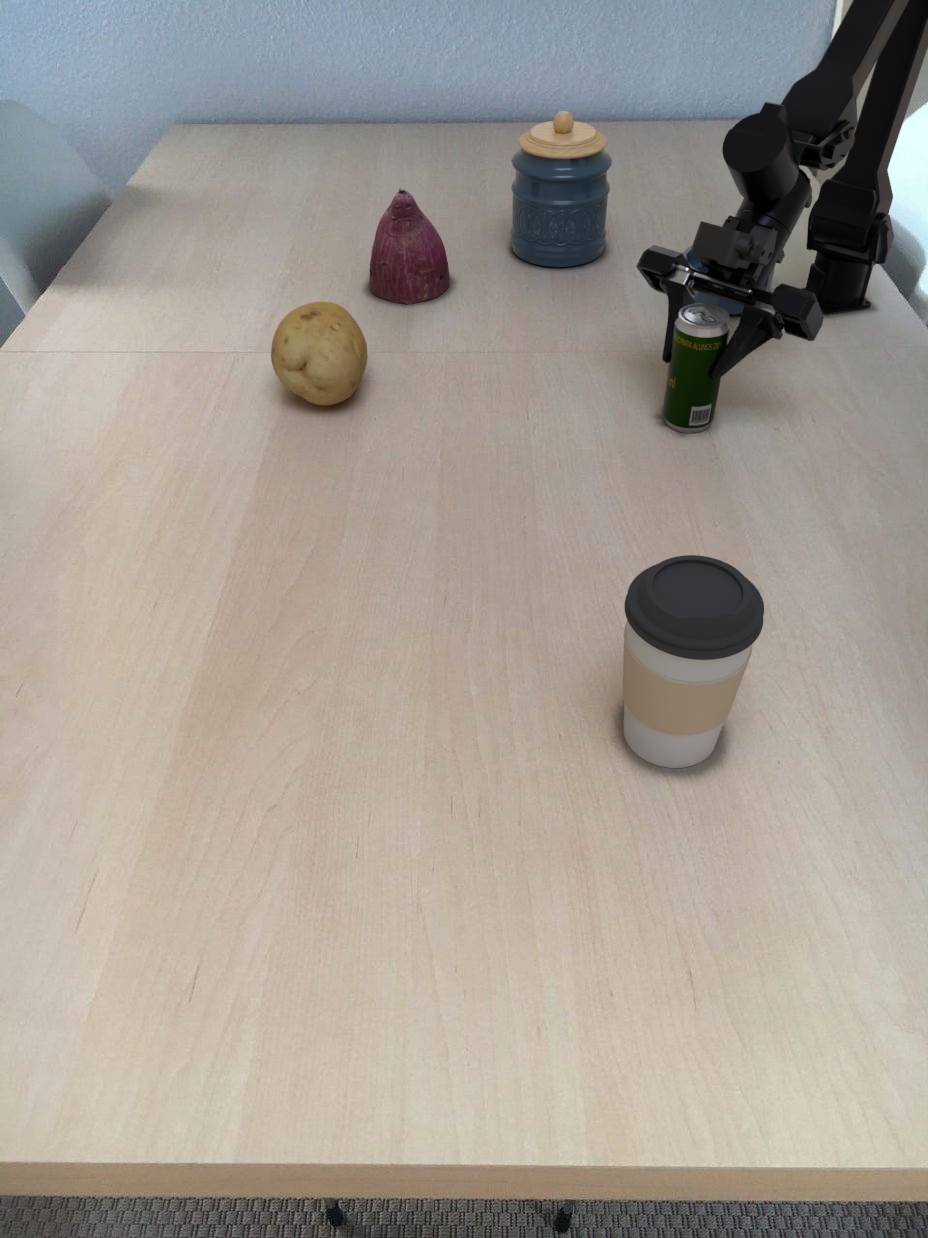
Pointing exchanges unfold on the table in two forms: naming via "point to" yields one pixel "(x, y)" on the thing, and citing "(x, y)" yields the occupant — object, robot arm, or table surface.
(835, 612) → the table surface
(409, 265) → the vegetable
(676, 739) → the coffee cup
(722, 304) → the bowl
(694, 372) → the beer can
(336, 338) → the potato
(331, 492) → the table surface
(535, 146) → the canister
